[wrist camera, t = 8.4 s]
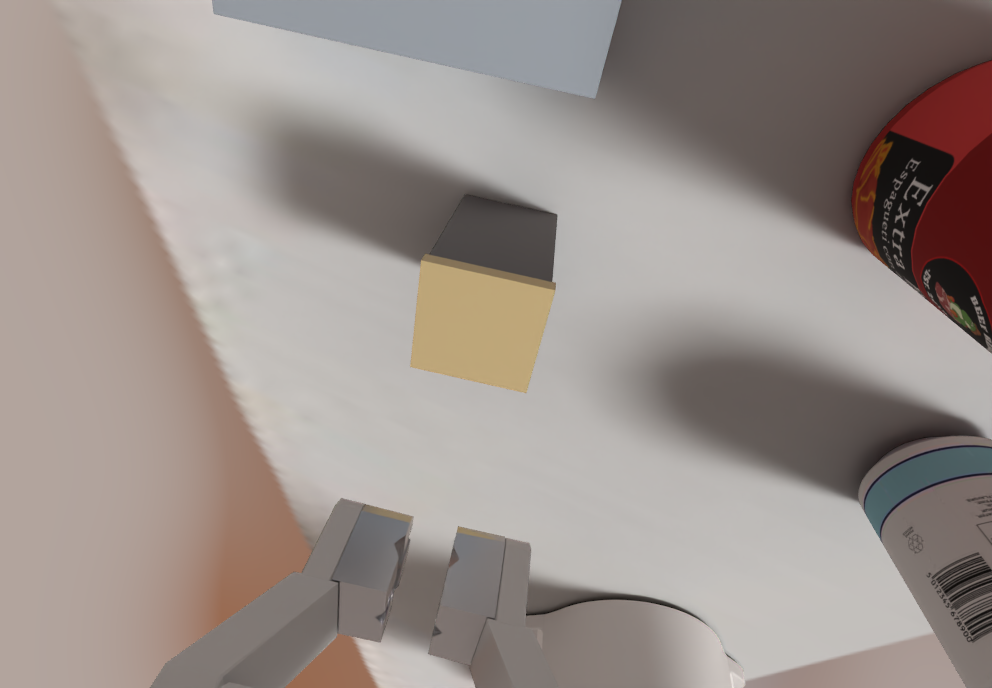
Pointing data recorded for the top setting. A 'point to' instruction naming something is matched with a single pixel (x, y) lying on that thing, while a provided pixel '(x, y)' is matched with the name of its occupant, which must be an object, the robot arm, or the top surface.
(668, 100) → the top surface
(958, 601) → the beverage can
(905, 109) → the canned food
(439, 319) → the plug
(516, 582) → the robot arm
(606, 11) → the socket block
